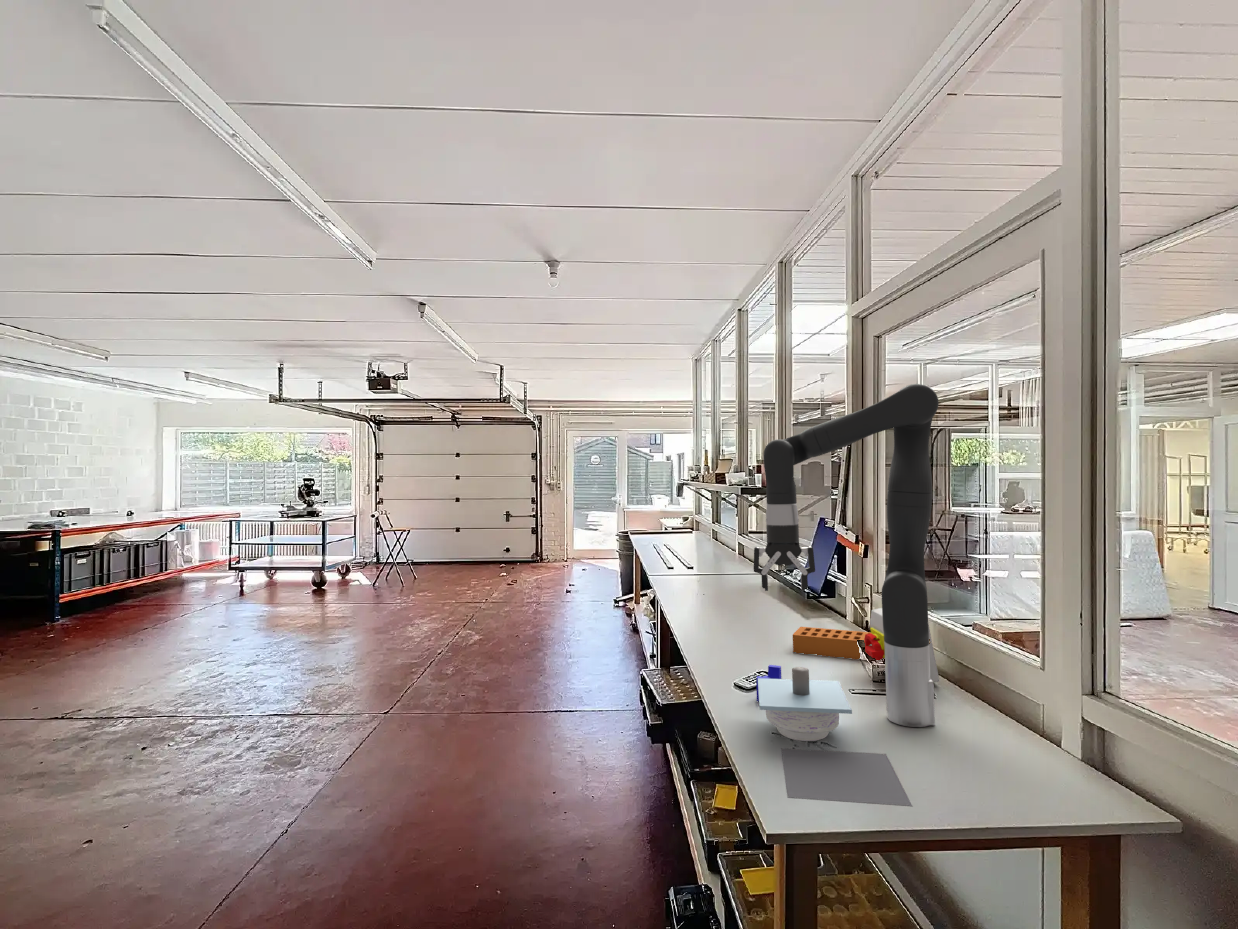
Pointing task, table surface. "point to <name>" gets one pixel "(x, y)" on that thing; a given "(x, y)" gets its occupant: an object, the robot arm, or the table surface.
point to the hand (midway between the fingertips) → (784, 590)
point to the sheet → (802, 703)
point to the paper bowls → (803, 724)
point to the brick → (827, 642)
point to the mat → (842, 777)
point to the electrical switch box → (878, 642)
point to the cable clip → (770, 675)
